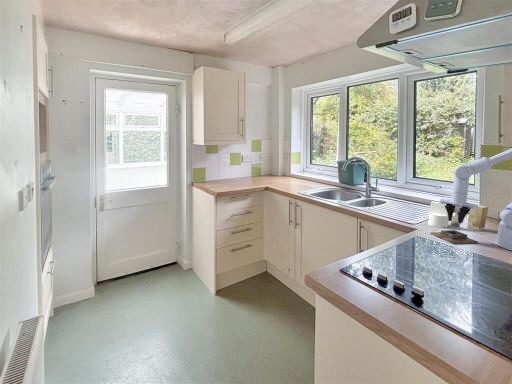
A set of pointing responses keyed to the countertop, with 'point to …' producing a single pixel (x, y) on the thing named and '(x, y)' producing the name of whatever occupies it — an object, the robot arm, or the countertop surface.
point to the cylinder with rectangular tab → (438, 215)
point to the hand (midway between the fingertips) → (455, 221)
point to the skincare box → (477, 218)
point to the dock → (454, 237)
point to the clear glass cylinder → (455, 218)
